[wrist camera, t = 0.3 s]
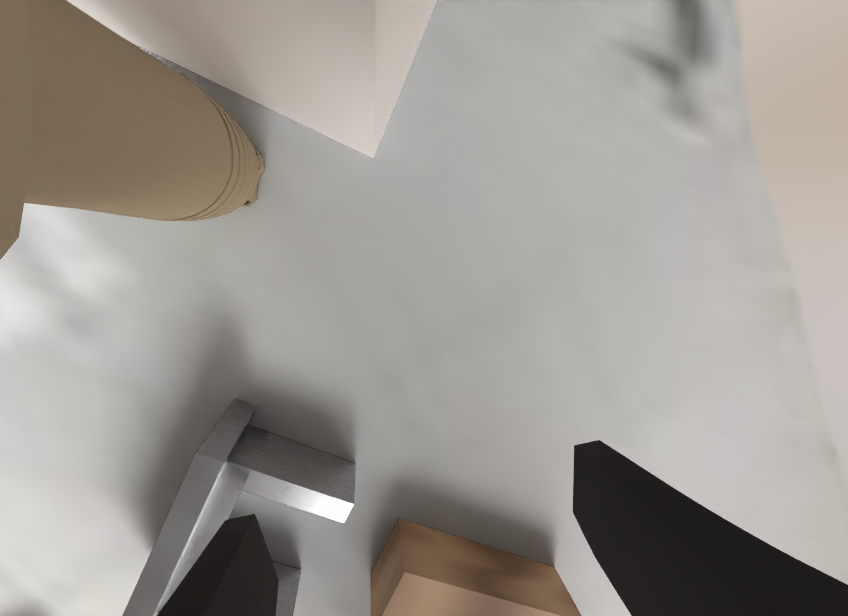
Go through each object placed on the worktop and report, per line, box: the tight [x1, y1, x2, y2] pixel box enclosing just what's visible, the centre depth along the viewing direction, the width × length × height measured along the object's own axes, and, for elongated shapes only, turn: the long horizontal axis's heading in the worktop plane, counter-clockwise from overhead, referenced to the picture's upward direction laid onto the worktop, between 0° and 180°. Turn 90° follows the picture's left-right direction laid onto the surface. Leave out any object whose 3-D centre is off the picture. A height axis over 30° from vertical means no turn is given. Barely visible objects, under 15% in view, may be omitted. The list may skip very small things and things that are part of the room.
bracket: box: [123, 399, 355, 616], centre depth 18 cm, size 6×10×4 cm
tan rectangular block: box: [370, 518, 581, 616], centre depth 21 cm, size 10×4×4 cm, turn 64°
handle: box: [0, 0, 265, 259], centre depth 9 cm, size 5×6×15 cm
